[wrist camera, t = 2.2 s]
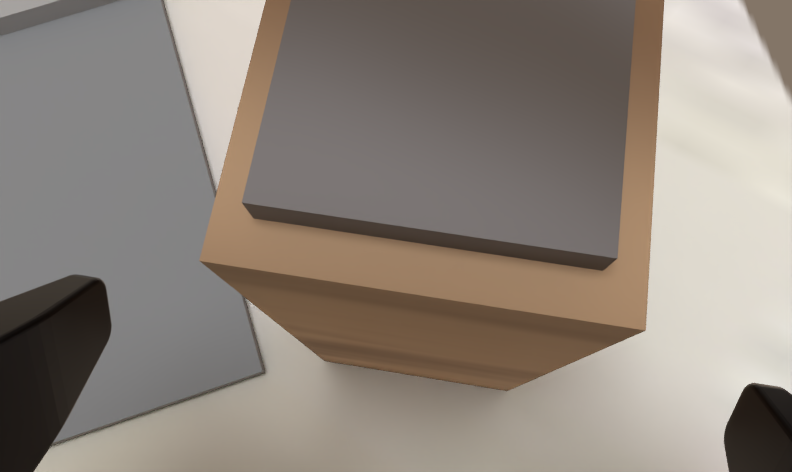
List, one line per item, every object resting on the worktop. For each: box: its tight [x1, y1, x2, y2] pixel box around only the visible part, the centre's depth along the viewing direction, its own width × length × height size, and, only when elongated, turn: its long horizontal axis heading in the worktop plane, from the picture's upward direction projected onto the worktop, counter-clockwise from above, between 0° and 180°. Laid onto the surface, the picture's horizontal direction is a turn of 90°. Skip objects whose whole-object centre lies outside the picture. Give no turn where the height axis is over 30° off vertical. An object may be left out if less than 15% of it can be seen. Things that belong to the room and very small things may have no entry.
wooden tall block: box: [199, 0, 664, 391], centre depth 14 cm, size 6×6×13 cm
